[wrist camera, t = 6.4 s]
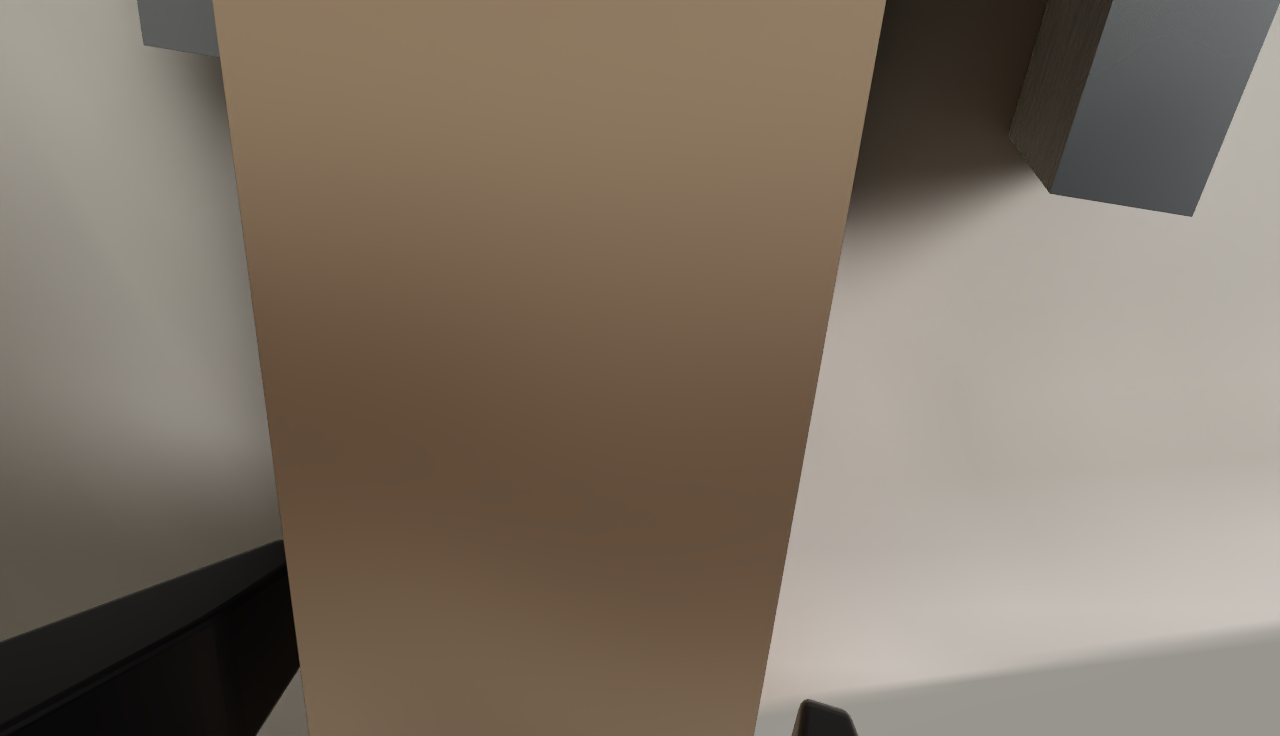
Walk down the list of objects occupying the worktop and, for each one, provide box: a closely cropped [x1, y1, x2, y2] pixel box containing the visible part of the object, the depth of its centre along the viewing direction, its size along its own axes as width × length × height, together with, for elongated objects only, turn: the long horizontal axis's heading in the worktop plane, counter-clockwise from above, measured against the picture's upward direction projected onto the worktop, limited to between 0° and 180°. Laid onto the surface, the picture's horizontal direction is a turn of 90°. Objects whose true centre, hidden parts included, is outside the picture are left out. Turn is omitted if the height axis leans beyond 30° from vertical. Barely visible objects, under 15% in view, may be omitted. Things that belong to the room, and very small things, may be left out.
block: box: [213, 0, 886, 736], centre depth 8 cm, size 14×4×4 cm, turn 176°
